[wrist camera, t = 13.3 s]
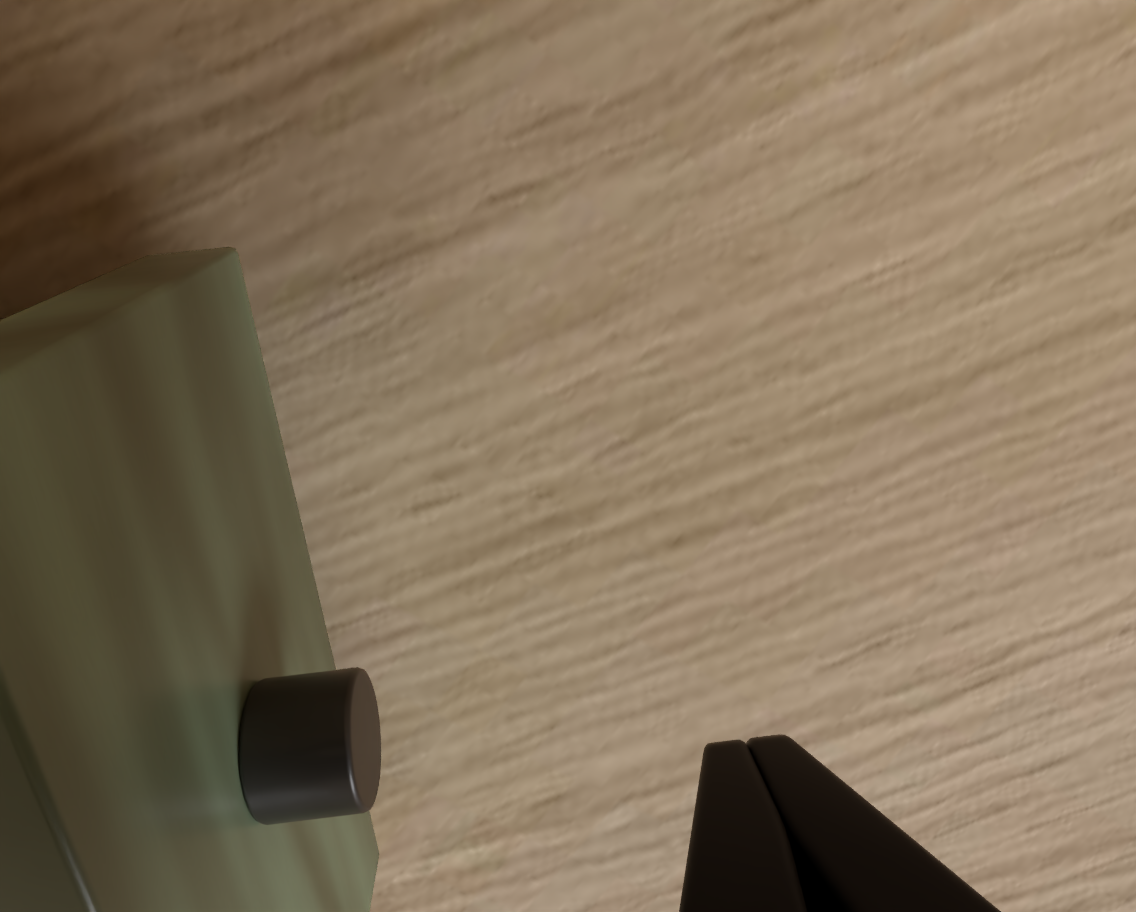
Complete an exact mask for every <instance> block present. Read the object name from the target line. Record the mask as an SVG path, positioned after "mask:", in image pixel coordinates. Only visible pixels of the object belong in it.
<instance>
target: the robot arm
mask: <svg viewBox="0 0 1136 912" xmlns="http://www.w3.org/2000/svg"><path fill="white" fill-rule="evenodd" d="M679 912H1001V911H999V910H998V909H997V908H996V907H995V906H993V905H992V904H991V903H990V902H989V901H987V900H986V899H985V898H984V897H982V896H981V895H980V894H979V893H978V892H976V891H975V890H974V889H973V888H972V887H970V886H969V885H968V884H967V883H966V882H964V881H963V880H962V879H961V878H959V877H958V876H957V875H956V874H955V873H953V872H952V871H951V870H950V869H949V868H947V867H946V866H945V865H944V864H943V863H941V862H940V861H939V860H938V859H936V858H935V857H934V856H933V855H932V854H930V853H929V852H928V851H927V850H926V849H924V848H923V847H922V846H921V845H920V844H918V843H917V842H916V841H915V840H913V839H912V838H911V837H910V836H909V835H907V834H906V833H905V832H904V831H903V830H901V829H900V828H899V827H898V826H897V825H895V824H894V823H893V822H892V821H891V820H889V819H888V818H887V817H886V816H884V815H883V814H882V813H881V812H880V811H878V810H877V809H876V808H875V807H874V806H872V805H871V804H870V803H869V802H868V801H866V800H865V799H864V798H863V797H861V796H860V795H859V794H858V793H857V792H855V791H854V790H853V789H852V788H851V787H849V786H848V785H847V784H846V783H845V782H843V781H842V780H841V779H840V778H838V777H837V776H836V775H835V774H834V773H832V772H831V771H830V770H829V769H828V768H826V767H825V766H824V765H823V764H822V763H820V762H819V761H818V760H817V759H816V758H814V757H813V756H812V755H811V754H809V753H808V752H807V751H806V750H805V749H803V748H802V747H801V746H800V745H799V744H797V743H796V742H795V741H794V740H793V739H791V738H790V737H788V736H786V735H771V736H763V737H755V738H751V739H749V740H748V741H747V743H745V742H743V741H741V740H731V741H722V742H714V743H709V744H707V745H706V747H705V748H704V753H703V759H702V766H701V772H700V779H699V785H698V792H697V798H696V805H695V811H694V818H693V825H692V831H691V838H690V844H689V851H688V857H687V864H686V870H685V877H684V883H683V890H682V896H681V903H680V910H679Z"/></svg>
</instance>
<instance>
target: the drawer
mask: <svg viewBox="0 0 1136 912" xmlns="http://www.w3.org/2000/svg"><path fill="white" fill-rule="evenodd" d="M380 768H381V735H380V722H379V714H378V707H377V701H376V697H375V692H374V689H373V686H372V683H371V680H370V678H369V676H368V674H367V673H366V671H365V670H364V669H361V668H358V667H357V668H348V669H340V670H336V668H335V663H334V659H333V655H332V651H331V647H330V642H329V638H328V634H327V630H326V625H325V621H324V617H323V613H322V608H321V604H320V600H319V596H318V591H317V587H316V583H315V579H314V574H313V570H312V566H311V562H310V557H309V553H308V549H307V545H306V540H305V536H304V532H303V528H302V523H301V519H300V515H299V511H298V507H297V502H296V498H295V494H294V490H293V485H292V481H291V477H290V473H289V468H288V464H287V460H286V456H285V451H284V447H283V443H282V439H281V434H280V430H279V426H278V422H277V417H276V413H275V409H274V405H273V400H272V396H271V392H270V388H269V383H268V379H267V375H266V371H265V367H264V362H263V358H262V354H261V350H260V345H259V341H258V337H257V333H256V328H255V324H254V320H253V316H252V311H251V307H250V303H249V299H248V294H247V290H246V286H245V282H244V277H243V273H242V269H241V265H240V260H239V256H238V253H237V251H236V249H235V248H232V247H223V248H214V249H204V250H195V251H185V252H176V253H166V254H157V255H148V256H145V257H143V258H141V259H139V260H136V261H134V262H132V263H129V264H127V265H125V266H123V267H120V268H118V269H116V270H114V271H111V272H109V273H107V274H105V275H102V276H100V277H98V278H95V279H93V280H91V281H89V282H86V283H84V284H82V285H80V286H77V287H75V288H73V289H70V290H68V291H66V292H64V293H61V294H59V295H57V296H55V297H52V298H50V299H48V300H45V301H43V302H41V303H39V304H36V305H34V306H32V307H30V308H27V309H25V310H23V311H20V312H18V313H16V314H14V315H11V316H9V317H7V318H5V319H2V320H0V912H370V906H371V900H372V894H373V888H374V882H375V876H376V870H377V864H378V858H379V850H378V846H377V842H376V837H375V833H374V829H373V825H372V820H371V816H370V812H369V810H370V809H371V808H372V806H373V804H374V802H375V798H376V795H377V791H378V786H379V779H380Z"/></svg>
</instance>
